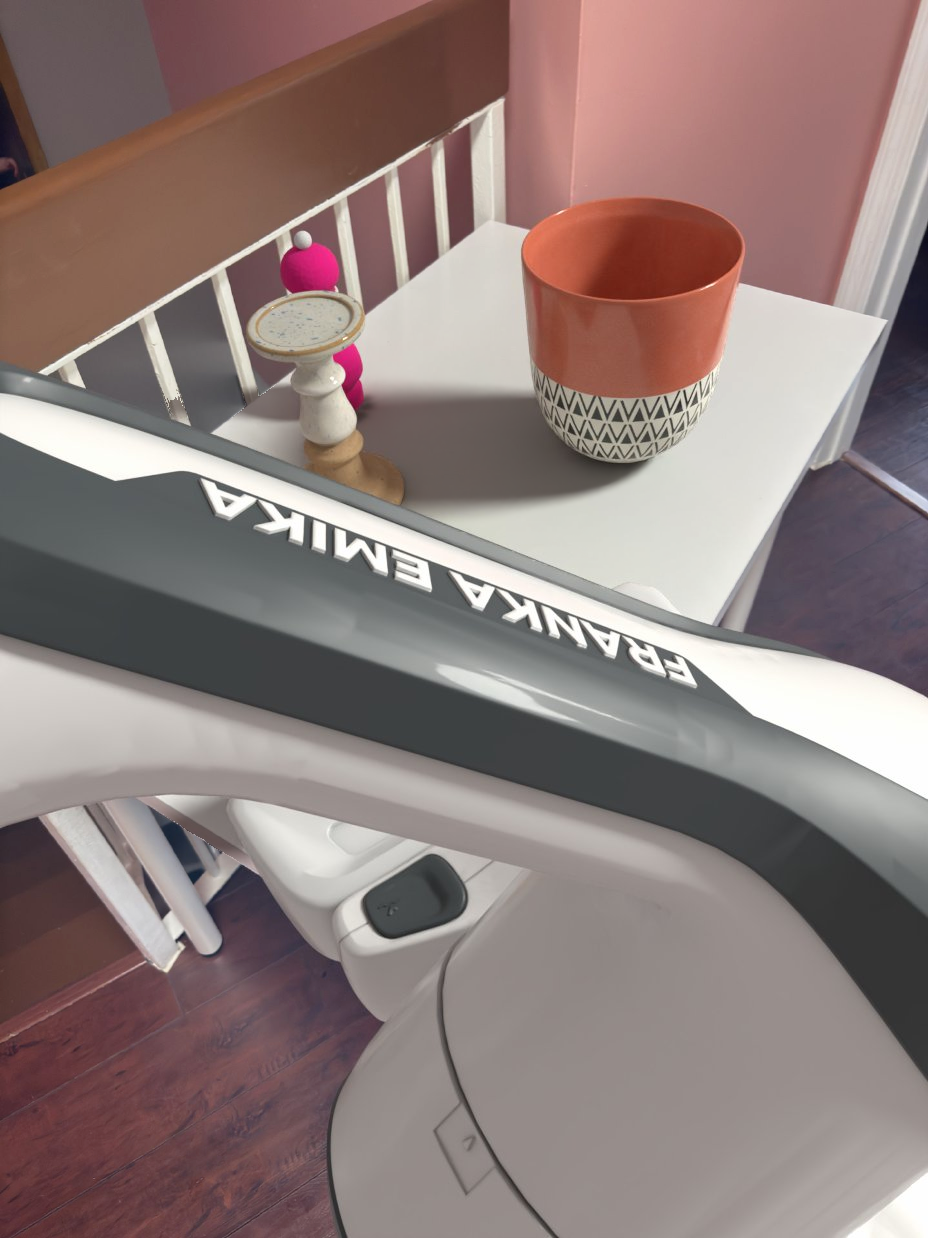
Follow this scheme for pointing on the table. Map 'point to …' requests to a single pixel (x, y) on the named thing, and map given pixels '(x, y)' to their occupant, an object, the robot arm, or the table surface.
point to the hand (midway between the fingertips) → (397, 627)
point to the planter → (628, 320)
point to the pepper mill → (320, 271)
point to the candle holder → (324, 385)
